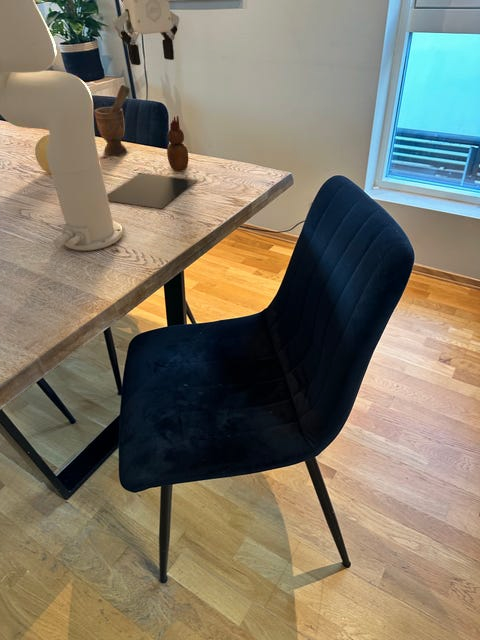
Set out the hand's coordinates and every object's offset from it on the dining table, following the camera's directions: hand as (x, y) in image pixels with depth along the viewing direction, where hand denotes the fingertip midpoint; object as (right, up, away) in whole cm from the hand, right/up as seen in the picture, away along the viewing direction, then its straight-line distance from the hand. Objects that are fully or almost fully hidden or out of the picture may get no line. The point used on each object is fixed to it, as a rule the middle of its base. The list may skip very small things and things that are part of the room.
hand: (153, 61), depth 102 cm
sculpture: (-32, -18, +25) cm, 45 cm away
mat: (-3, -27, +12) cm, 30 cm away
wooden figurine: (+3, -17, +25) cm, 30 cm away
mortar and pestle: (-18, -7, +39) cm, 43 cm away
